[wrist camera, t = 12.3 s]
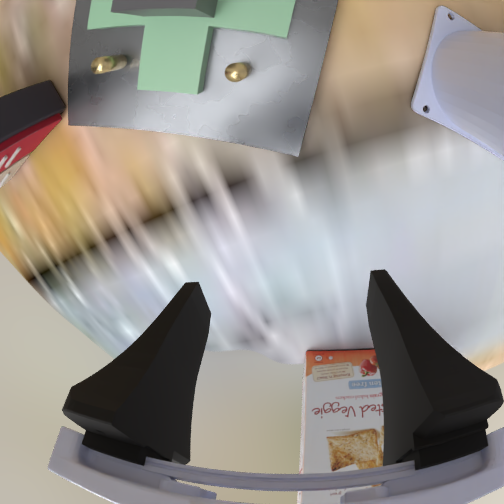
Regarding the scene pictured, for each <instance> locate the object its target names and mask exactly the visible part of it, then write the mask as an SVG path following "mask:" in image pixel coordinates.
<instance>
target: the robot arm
mask: <svg viewBox="0 0 504 504" xmlns="http://www.w3.org/2000/svg"><path fill="white" fill-rule="evenodd" d="M448 14H450V15H451V17H452V19H451V20H450V19H449V17H448ZM425 105H426V106H427V111H426V112H424V111H423V107H424V106H425ZM411 108H412V110H413V111H415V112H416V113H418V114H420V115H422V116H425V117H427V118H429V119H431V120H433V121H435V122H437V123H439V124H441V125H443V126H445V127H447V128H449V129H451V130H453V131H455V132H457V133H458V134H460V135H462V136H464V137H466V138H467V139H469V140H471V141H473V142H474V143H476V144H478V145H480V146H481V147H483V148H485V149H486V150H488V151H489V152H491V153H493V154H494V155H496V156H497V157H499V158H500V159H502V160H504V33H503V32H490V31H482V30H481V29H479V28H478V27H476V26H475V25H473V24H472V23H471V22H469V21H468V20H466V19H464V18H463V17H461V16H460V15H458V14H457V13H455V12H453V11H452V10H450V9H448V8H447V7H445V6H438V7H437V8H436V10H435V15H434V20H433V24H432V29H431V33H430V37H429V41H428V45H427V49H426V53H425V57H424V61H423V64H422V68H421V71H420V75H419V78H418V82H417V85H416V88H415V92H414V95H413V98H412V101H411ZM366 307H367V314H368V322H369V328H370V332H371V336H372V340H373V344H374V349H375V353H376V357H377V361H378V366H379V371H380V377H381V385H382V396H383V414H384V448H383V466H381V467H375V468H368V469H361V470H352V471H342V472H330V473H312V474H264V473H246V472H234V471H224V470H216V469H207V468H201V467H194V466H189V465H186V464H187V463H188V462H189V461H190V438H191V420H192V410H193V401H194V394H195V386H196V381H197V376H198V372H199V368H200V365H201V361H202V357H203V353H204V350H205V346H206V342H207V338H208V334H209V326H210V318H211V312H210V310H209V307H208V305H207V302H206V300H205V297H204V295H203V292H202V289H201V287H200V284H199V282H188V283H185V284H184V285H183V286H182V288H181V289H180V290H179V291H178V293H177V294H176V295H175V296H174V298H173V299H172V300H171V301H170V302H169V304H168V305H167V306H166V307H165V309H164V310H163V311H162V312H161V313H160V315H159V316H158V317H157V318H156V319H155V320H154V322H153V323H152V324H151V325H150V326H149V327H148V328H147V329H146V330H145V332H144V333H143V334H142V335H141V336H140V337H139V338H138V339H137V340H136V341H135V342H134V343H133V344H132V345H131V346H129V347H128V348H127V349H126V350H125V351H124V352H123V353H121V354H120V355H119V356H118V357H117V358H115V359H114V360H113V361H112V362H111V363H109V364H108V365H106V366H105V367H104V368H102V369H101V370H99V371H98V372H96V373H95V374H93V375H92V376H90V377H88V378H87V379H85V380H83V381H82V382H80V383H78V384H76V385H74V386H72V387H71V389H70V392H69V394H68V396H67V399H66V402H65V404H64V407H63V409H62V411H63V413H64V415H65V416H67V417H68V418H69V419H71V420H72V421H73V422H75V423H76V424H78V425H79V426H81V427H82V428H84V429H85V430H86V432H85V435H83V434H81V433H79V432H76V431H74V430H71V429H69V428H66V427H64V426H62V427H61V429H60V433H59V435H58V438H57V441H56V444H55V446H54V449H53V453H52V455H51V458H50V462H49V465H48V470H50V471H52V472H53V473H55V474H57V475H59V476H61V477H63V478H65V479H66V480H68V481H70V482H72V483H74V484H76V485H78V486H79V487H81V488H84V489H86V490H87V491H89V492H91V493H93V494H95V495H97V496H100V497H102V498H104V499H106V500H109V501H111V502H113V503H115V504H253V503H241V502H231V501H222V500H216V493H215V492H211V491H207V490H204V489H201V488H200V487H197V486H192V485H188V484H184V483H179V482H177V481H176V480H175V479H177V480H182V481H187V482H193V483H198V484H205V485H211V486H219V487H227V488H237V489H249V490H263V491H319V490H334V489H345V488H355V487H363V486H370V485H376V484H381V485H380V486H375V487H370V488H365V489H359V490H353V491H347V492H346V493H344V495H342V496H341V497H340V504H467V503H470V502H472V501H474V500H476V499H478V498H481V497H483V496H485V495H487V494H489V493H491V492H493V491H495V490H497V489H499V488H501V487H503V486H504V427H503V428H501V429H498V430H496V431H494V432H492V433H490V434H488V435H486V431H485V429H487V428H488V422H487V419H488V418H489V417H490V416H491V415H492V414H494V413H495V412H496V411H497V410H498V409H499V408H500V407H501V406H502V404H503V402H504V400H503V396H502V393H501V389H500V386H499V384H498V381H497V380H496V379H495V378H493V377H492V376H491V375H489V374H487V373H486V372H484V371H483V370H481V369H479V368H478V367H477V366H475V365H474V364H473V363H471V362H470V361H468V360H467V359H466V358H465V357H463V356H462V355H461V354H460V353H459V352H457V351H456V350H455V349H454V348H453V347H451V346H450V345H449V344H448V343H447V342H446V341H445V340H444V339H443V338H442V337H441V336H440V335H439V334H438V333H437V332H436V331H435V330H434V329H433V328H432V327H431V326H430V325H429V324H428V323H427V322H426V321H425V319H424V318H423V317H422V316H421V315H420V314H419V313H418V311H417V310H416V309H415V308H414V306H413V305H412V304H411V303H410V301H409V300H408V299H407V298H406V296H405V295H404V294H403V293H402V291H401V290H400V289H399V287H398V286H397V285H396V283H395V282H394V281H393V279H392V278H391V276H390V275H389V274H388V272H387V271H386V270H374V271H371V273H370V281H369V289H368V296H367V303H366ZM382 483H383V484H382Z"/></svg>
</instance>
